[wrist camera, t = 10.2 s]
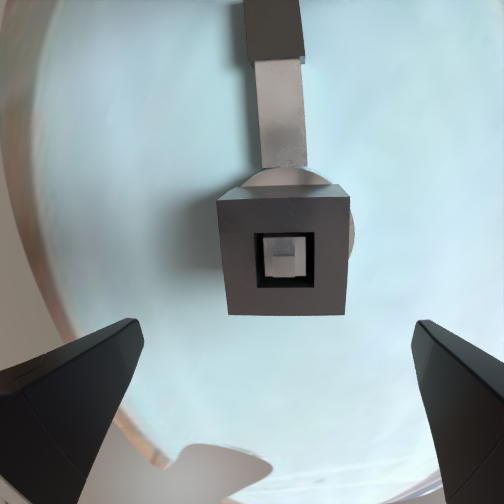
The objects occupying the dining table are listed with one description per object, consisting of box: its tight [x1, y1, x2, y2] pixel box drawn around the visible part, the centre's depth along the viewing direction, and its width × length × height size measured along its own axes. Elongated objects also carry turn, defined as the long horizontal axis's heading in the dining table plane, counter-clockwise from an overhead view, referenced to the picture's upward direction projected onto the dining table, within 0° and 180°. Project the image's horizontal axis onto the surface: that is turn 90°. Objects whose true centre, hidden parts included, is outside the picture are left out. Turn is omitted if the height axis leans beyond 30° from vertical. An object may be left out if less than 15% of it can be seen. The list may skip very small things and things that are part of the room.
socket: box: [216, 184, 350, 316], centre depth 16 cm, size 6×6×4 cm
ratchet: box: [240, 0, 355, 277], centre depth 15 cm, size 8×20×6 cm, turn 4°
